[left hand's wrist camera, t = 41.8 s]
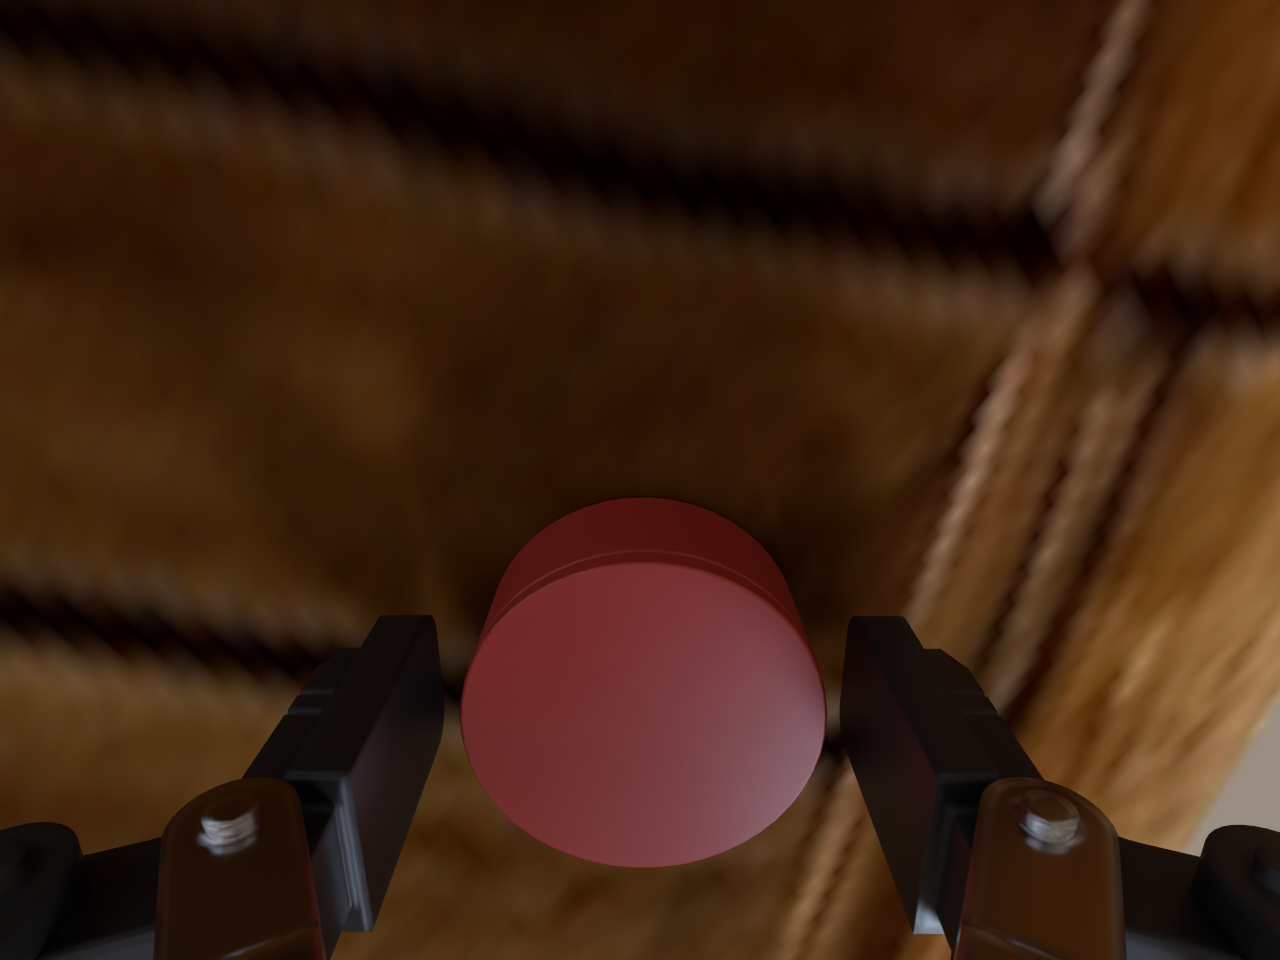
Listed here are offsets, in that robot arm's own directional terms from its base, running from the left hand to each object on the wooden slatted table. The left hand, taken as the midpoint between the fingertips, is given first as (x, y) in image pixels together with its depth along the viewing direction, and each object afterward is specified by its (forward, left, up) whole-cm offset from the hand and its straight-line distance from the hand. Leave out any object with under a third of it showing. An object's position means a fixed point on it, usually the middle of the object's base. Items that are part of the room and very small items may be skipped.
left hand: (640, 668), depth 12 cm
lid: (0, 0, +1) cm, 1 cm away
